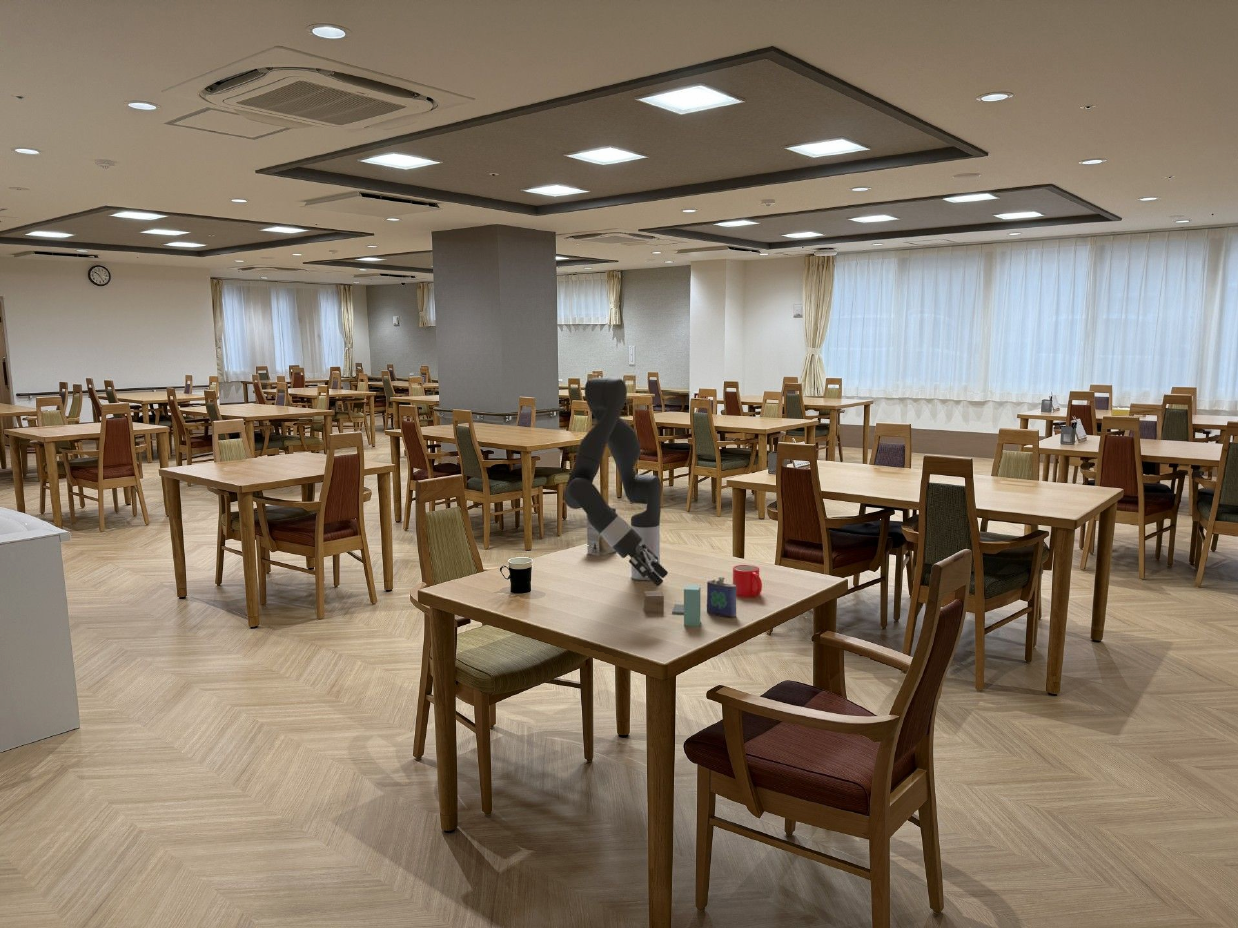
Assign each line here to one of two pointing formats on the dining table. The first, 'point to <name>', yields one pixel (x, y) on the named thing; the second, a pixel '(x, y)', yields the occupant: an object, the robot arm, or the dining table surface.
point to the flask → (721, 598)
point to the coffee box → (597, 541)
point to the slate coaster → (678, 609)
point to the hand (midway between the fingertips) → (663, 579)
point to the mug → (747, 580)
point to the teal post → (691, 605)
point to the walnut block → (654, 602)
